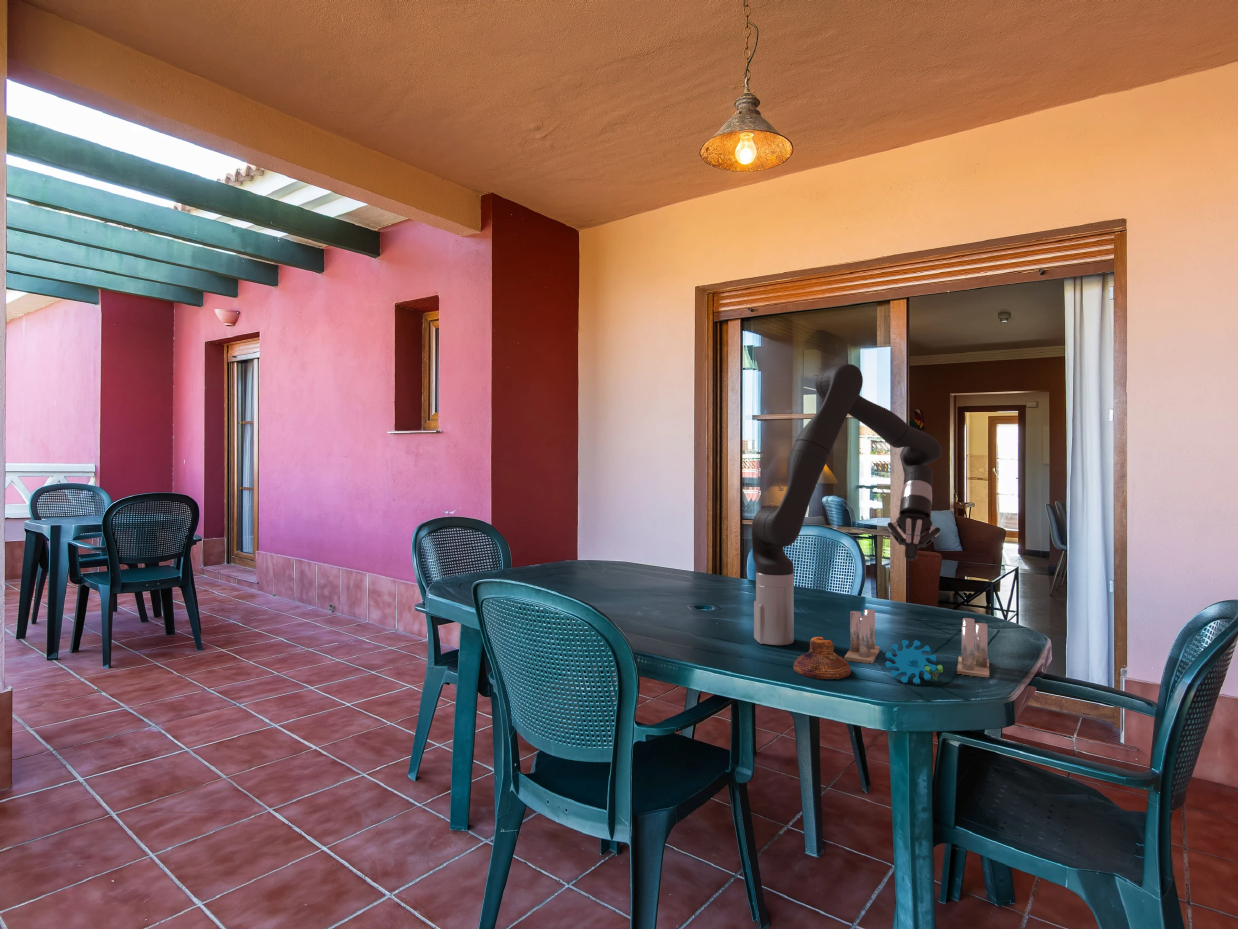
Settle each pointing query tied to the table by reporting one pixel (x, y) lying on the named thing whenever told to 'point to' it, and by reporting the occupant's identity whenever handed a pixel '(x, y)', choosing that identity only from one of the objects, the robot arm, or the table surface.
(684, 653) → the table surface
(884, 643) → the table surface
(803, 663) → the bell
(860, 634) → the spacers
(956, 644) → the table surface
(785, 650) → the table surface
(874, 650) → the rack
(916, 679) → the gear
